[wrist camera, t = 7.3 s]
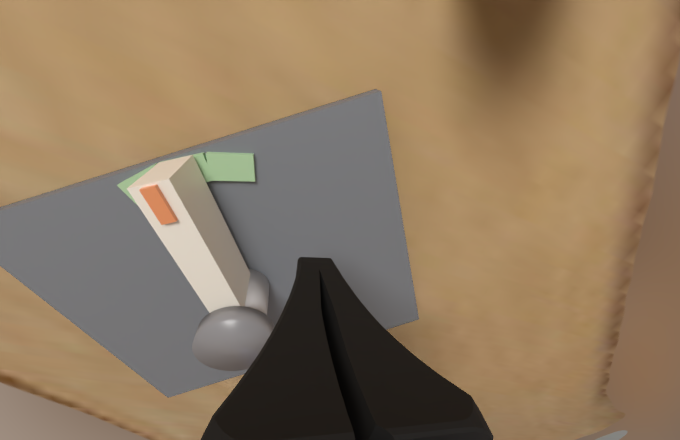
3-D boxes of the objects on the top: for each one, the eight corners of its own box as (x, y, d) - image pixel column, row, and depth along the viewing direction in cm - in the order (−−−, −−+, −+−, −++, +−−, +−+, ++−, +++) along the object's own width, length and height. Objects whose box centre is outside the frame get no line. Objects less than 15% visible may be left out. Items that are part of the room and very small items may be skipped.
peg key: (284, 299, 19) (283, 359, 15) (228, 313, 19) (212, 378, 15) (219, 146, 13) (191, 182, 9) (137, 165, 13) (75, 209, 9)
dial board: (414, 309, 24) (420, 322, 23) (172, 385, 24) (166, 401, 23) (375, 88, 14) (383, 91, 13) (-30, 216, 14) (-56, 230, 13)
